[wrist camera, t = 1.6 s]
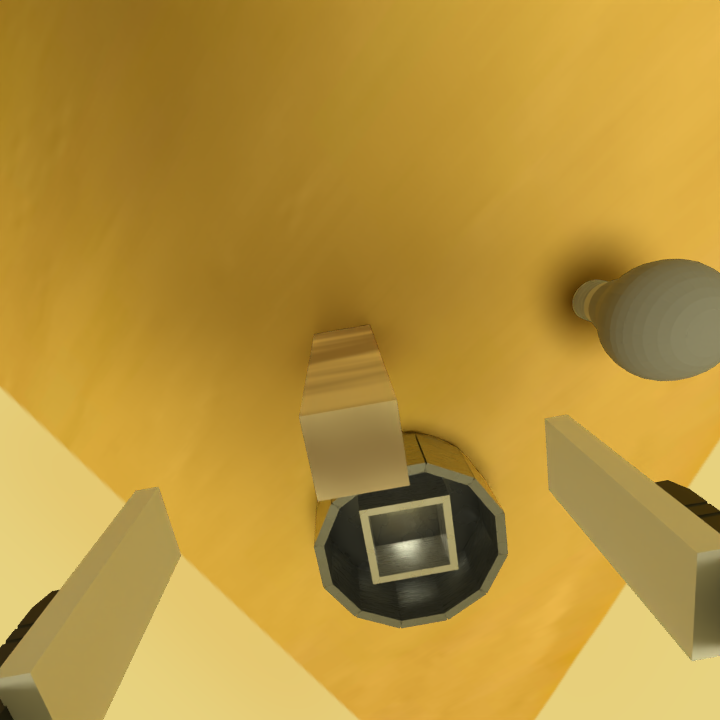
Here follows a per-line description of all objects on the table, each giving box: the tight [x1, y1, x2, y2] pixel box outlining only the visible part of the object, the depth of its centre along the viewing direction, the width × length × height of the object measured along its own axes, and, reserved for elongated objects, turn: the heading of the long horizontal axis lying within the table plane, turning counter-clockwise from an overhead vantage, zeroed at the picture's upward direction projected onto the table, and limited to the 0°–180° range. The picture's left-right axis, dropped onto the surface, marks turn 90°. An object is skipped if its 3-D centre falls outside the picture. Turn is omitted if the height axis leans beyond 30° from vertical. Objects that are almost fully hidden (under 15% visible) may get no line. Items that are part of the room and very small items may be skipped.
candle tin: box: [314, 432, 508, 628], centre depth 31 cm, size 12×12×4 cm
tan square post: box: [299, 325, 410, 501], centre depth 23 cm, size 4×4×13 cm
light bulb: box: [572, 259, 720, 381], centre depth 24 cm, size 6×6×10 cm
